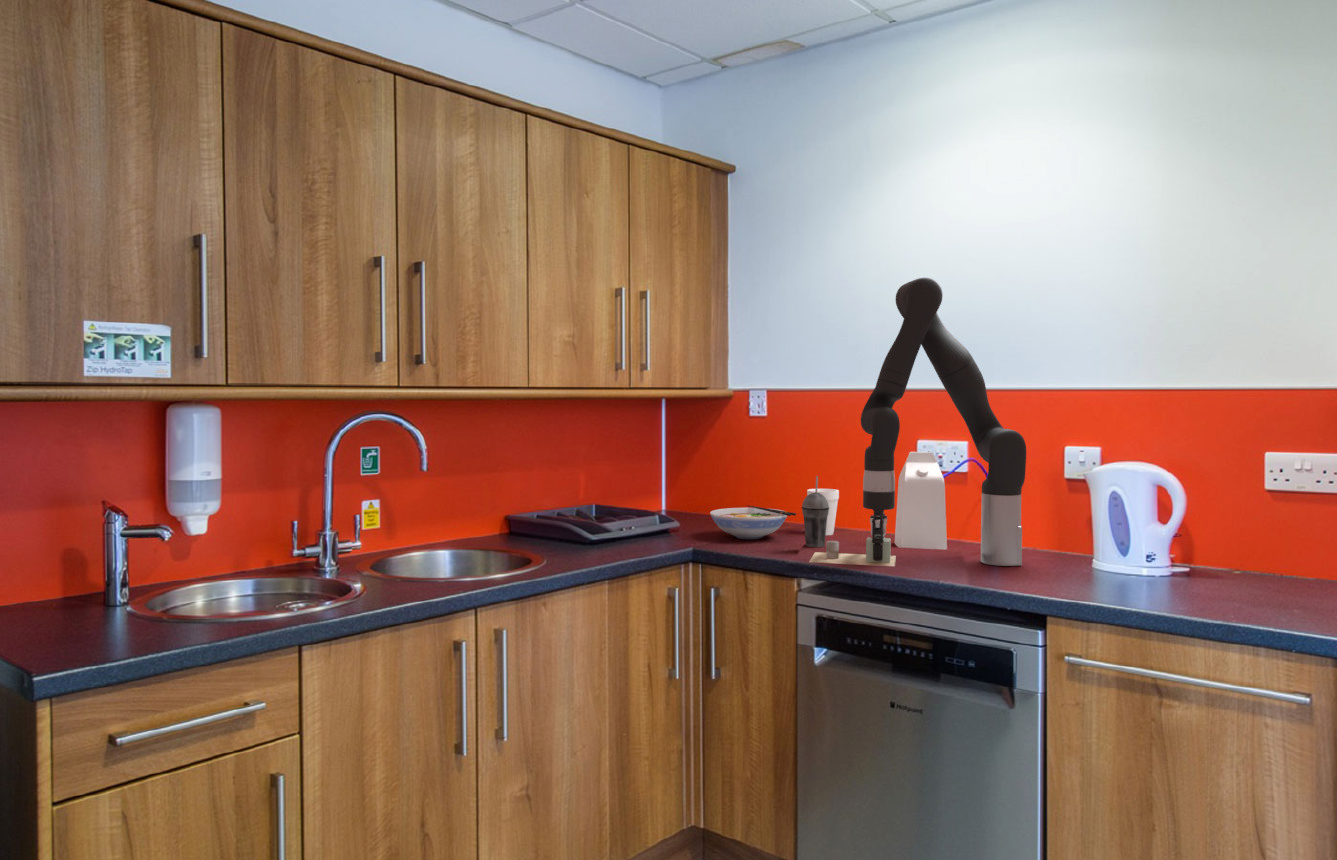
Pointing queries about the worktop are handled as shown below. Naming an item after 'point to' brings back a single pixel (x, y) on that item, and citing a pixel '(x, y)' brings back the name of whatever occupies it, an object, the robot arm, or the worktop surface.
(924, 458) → the milk
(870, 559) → the grey-green block
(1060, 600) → the worktop surface
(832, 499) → the foam cup
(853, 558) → the post board
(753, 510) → the ramen bowl
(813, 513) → the beverage cup
